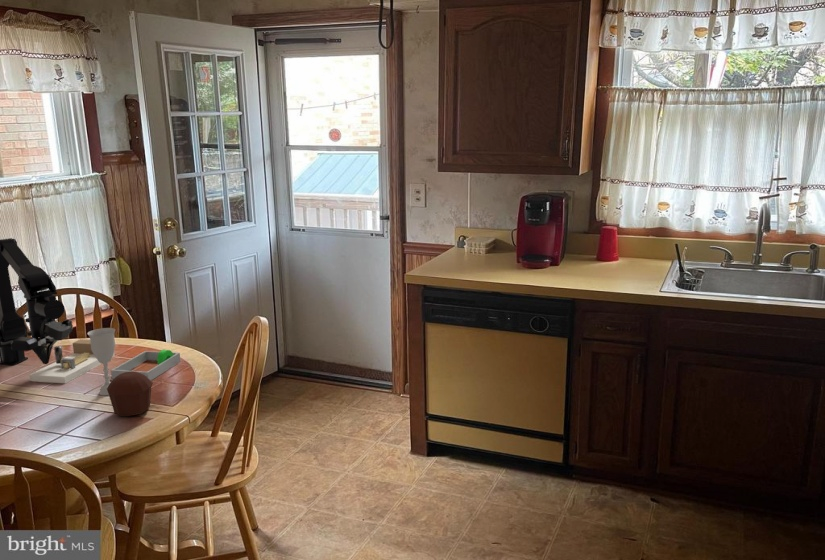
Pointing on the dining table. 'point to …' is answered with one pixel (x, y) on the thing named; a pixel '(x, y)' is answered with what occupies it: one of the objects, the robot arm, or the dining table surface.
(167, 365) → the frame
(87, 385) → the dining table surface
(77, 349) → the door board
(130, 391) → the muffin
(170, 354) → the mechanical part
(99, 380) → the dining table surface
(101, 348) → the chalice
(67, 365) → the bolt
